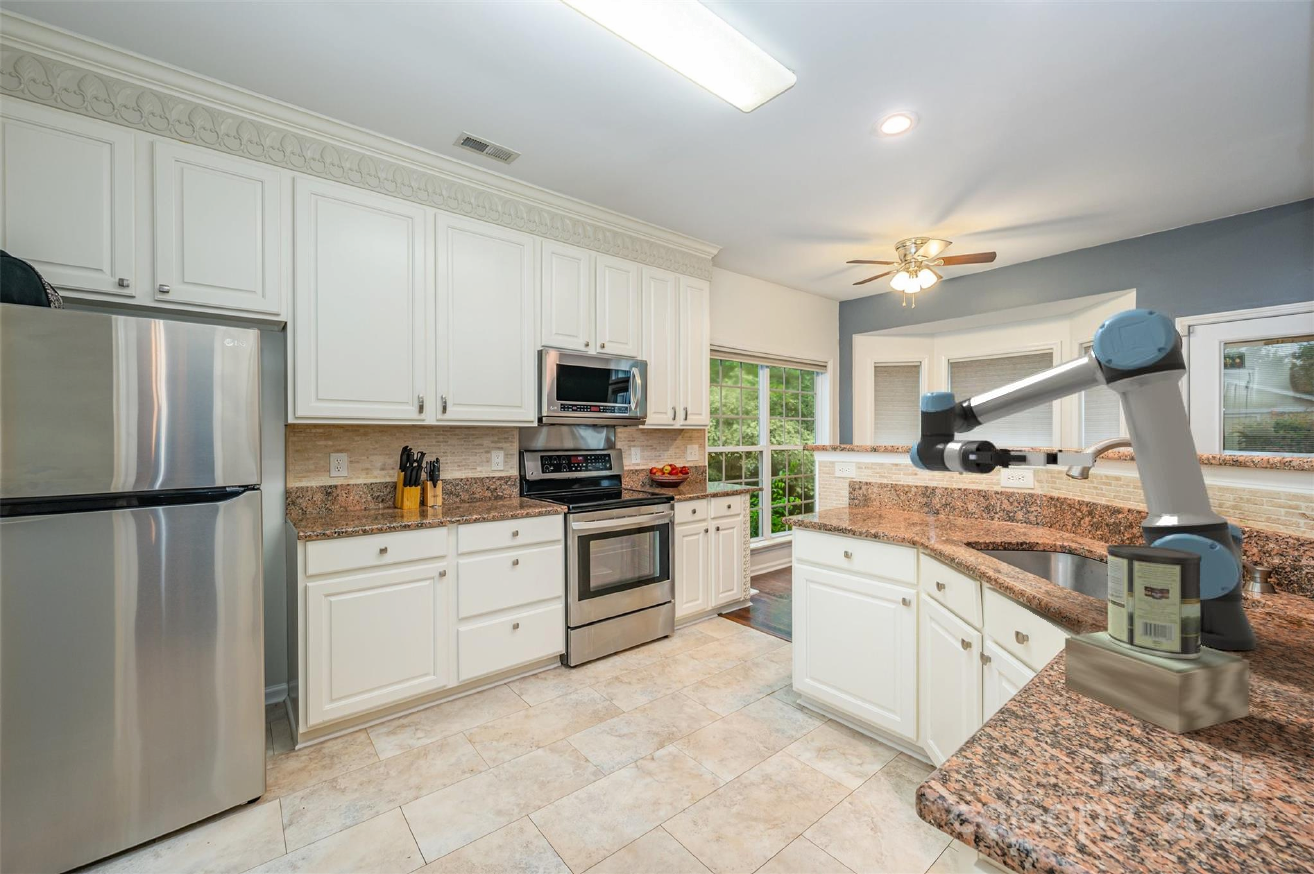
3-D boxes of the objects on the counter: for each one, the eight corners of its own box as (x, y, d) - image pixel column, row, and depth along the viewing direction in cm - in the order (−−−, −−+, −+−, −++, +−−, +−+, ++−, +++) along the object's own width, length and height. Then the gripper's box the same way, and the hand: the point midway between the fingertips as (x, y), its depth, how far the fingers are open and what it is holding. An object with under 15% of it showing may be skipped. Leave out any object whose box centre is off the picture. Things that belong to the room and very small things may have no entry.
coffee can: (1166, 636, 83) (1167, 545, 83) (1222, 663, 73) (1222, 559, 73) (1090, 631, 85) (1091, 542, 85) (1134, 656, 75) (1135, 555, 75)
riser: (1131, 674, 88) (1131, 625, 88) (1249, 715, 75) (1249, 658, 75) (1064, 687, 83) (1065, 635, 83) (1178, 734, 69) (1178, 672, 70)
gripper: (1010, 473, 127) (1112, 478, 107) (929, 473, 119) (1023, 479, 99) (1011, 441, 127) (1112, 441, 107) (930, 439, 119) (1023, 438, 99)
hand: (1070, 459), depth 103 cm, fingers open, 13 cm apart
